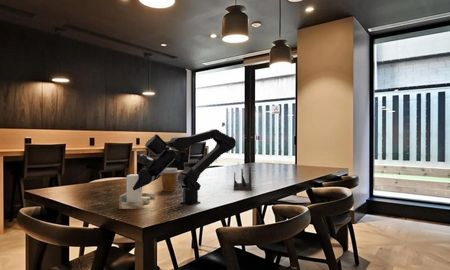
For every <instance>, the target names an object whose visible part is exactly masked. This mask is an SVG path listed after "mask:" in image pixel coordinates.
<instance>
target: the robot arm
mask: <svg viewBox="0 0 450 270" xmlns="http://www.w3.org/2000/svg"><path fill="white" fill-rule="evenodd" d="M208 140H209V141H210V140H213V141H214V142H215V143H216V144H215V146H214V148H213V149H212V150H211V151H209V152H208V153H207V154H206V155H205V156H203V158H202V159H200V160H198V162H197V163H195V164H194V165H193V166H192V167H189V166H185V167H184V168H183V170H181V171H179V174H177V175H178V176H177V182H178V184H179V185H180V186H181V189H183V192H182V201H180V204H183V205H187V206H192V205H197V204H201V203H202V202H201V201H199V191H200V189H201V186H202V185H201V184H200V183H199V182H198V180H199V178H200V176H201V174H202V173H203V172H204V171H206V170H207V169H208V167H209V168H210V166H211V165H212V164H213V163H214V162H215V161H216V160H217V159H218V158H220V157H221V155H223V154H225V153H229V152H230V151H231V150H233V149H235V147H236V145H237V141H236V139H235V137H233V136H229V135H228V134H226V133H223V132H221V131H220V130H219V129H217V128H216V129H209V130H206V131H203V132H200V133H196V134H192V135H188V136H178V137H177V136H176V137H172V138H170V140H169V141H164V140H163V139H162V137H160V135H158V133H157V134H156V133H155V134H154V135H153V136H152V137H151V138H150V139H148V140H147V141H146V143H145V144H144V147H145V148H147V149H148V150H149V151H150V152H151V153H152V154H154V155H155V156H156V155H158V156H157V157H156V158H152V157H150V156H149V155H145V154H139V156H138V157H137V161H136V162H137V163H139V164H142V165H144V166H145V167H144V168H141V169H139V171H138V172H137V174H138V177H139V178H138V180H137V182H136V184H135V185H134V187H133V190H137V189H139V188H141V187H142V188H143V187H146V186H147V185H149V184H151V183H152V182H154V181H157V180H158V179H159V178H160V177H161V175H162V172H163V171H164V170H165V169H166V168H169V166H170V165H171V164H172V163H173V162H174V160H177V161H178V162H180V161H181V154H180V153H177V152H182V151H184V150H187V149H188V148H190V147H191V146H193V145H195V144H199V143H202V142H205V141H208ZM169 148H170V149H169ZM176 151H177V152H176Z"/></svg>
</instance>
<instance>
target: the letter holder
mask: <svg viewBox="0 0 450 270" xmlns="http://www.w3.org/2000/svg"><path fill="white" fill-rule="evenodd" d="M247 167H248V182H246V180H245V176H244V169H243V168H241V169H240V170H241V175H240V176H241V182H237V180H236V172H235V171H234V174H233V175H234V176H233V191H249V190H250V191H252V190H253V189H252V188H253V187H252V166H251V164H250V163H248V165H247Z"/></svg>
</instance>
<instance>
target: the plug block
mask: <svg viewBox="0 0 450 270" xmlns="http://www.w3.org/2000/svg"><path fill="white" fill-rule="evenodd" d="M138 178H139V177H138V173H137V174H136V173H135V174H134V173H133V174H131V173H130V174H127V175H126V192H127V196H126V202H142V193H143V187H141V188H139V189H137V190H133V187H134V185H135V184H136V182H137V180H138Z"/></svg>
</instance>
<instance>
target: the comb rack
mask: <svg viewBox="0 0 450 270" xmlns="http://www.w3.org/2000/svg"><path fill="white" fill-rule="evenodd" d="M126 196H127V191H126V192H124V193H123V194H121V195H119V199H118V201H119V202H118V203H119V205H118V206H119V210H120V209H121V210H123V209H126V210H143V209H144V205H149V204H150V203H151V200H153V199H154V200H155V199H156V192H142V202H126Z"/></svg>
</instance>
